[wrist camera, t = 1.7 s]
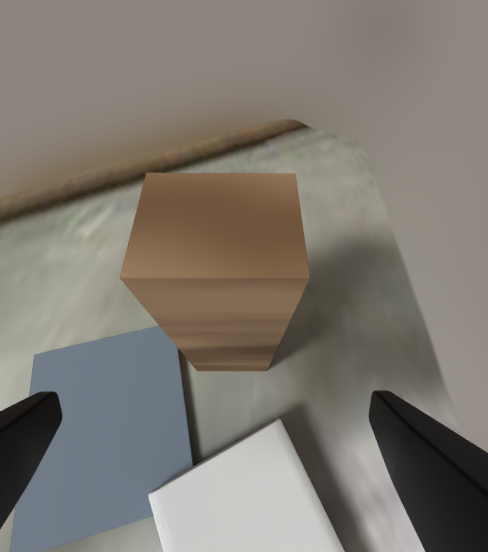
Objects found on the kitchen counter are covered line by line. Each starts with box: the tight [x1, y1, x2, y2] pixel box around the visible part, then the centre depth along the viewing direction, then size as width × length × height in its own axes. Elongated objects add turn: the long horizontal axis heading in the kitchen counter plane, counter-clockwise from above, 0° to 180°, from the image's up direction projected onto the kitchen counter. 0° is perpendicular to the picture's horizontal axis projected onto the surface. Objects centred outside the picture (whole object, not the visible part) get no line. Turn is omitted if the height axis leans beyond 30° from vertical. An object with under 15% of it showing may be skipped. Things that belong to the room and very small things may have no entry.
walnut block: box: [120, 173, 310, 371], centre depth 14 cm, size 4×5×14 cm
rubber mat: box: [10, 326, 194, 552], centre depth 17 cm, size 11×10×1 cm
